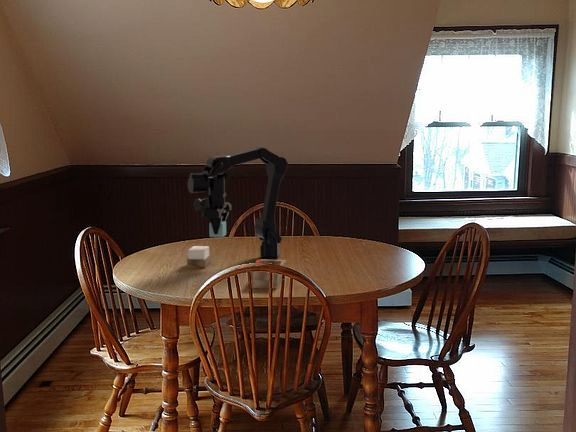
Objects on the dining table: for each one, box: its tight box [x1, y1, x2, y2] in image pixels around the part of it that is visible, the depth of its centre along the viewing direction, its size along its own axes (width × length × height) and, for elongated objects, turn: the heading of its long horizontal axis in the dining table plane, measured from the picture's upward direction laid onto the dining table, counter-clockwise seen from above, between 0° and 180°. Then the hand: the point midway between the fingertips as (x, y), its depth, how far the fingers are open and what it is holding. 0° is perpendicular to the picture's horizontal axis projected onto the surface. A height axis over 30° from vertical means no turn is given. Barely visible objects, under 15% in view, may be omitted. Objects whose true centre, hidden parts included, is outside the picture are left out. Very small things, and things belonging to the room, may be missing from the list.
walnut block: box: [186, 254, 212, 269], centre depth 224 cm, size 7×7×4 cm
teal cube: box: [208, 221, 227, 238], centre depth 221 cm, size 5×5×5 cm
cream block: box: [187, 245, 210, 259], centre depth 223 cm, size 6×6×4 cm
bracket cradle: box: [251, 258, 287, 290], centre depth 202 cm, size 9×16×6 cm, turn 170°
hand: (217, 232), depth 222 cm, fingers closed on teal cube, 5 cm apart
